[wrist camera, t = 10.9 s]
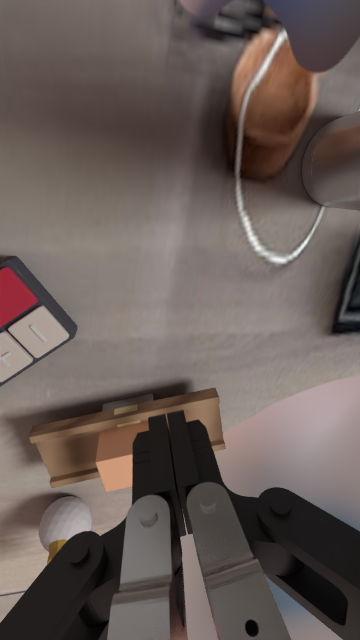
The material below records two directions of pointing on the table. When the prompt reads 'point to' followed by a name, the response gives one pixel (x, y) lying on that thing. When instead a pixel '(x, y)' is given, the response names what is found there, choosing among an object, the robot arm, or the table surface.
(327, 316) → the table surface
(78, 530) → the perfume bottle
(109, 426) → the beam
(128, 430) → the block
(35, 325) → the calculator
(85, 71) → the table surface
